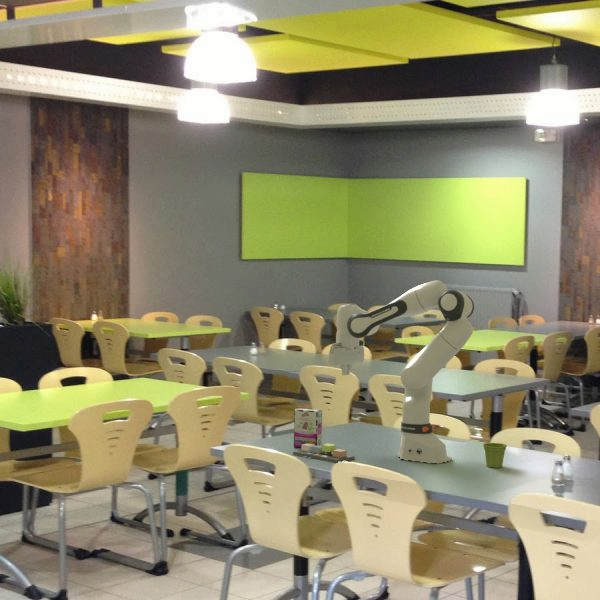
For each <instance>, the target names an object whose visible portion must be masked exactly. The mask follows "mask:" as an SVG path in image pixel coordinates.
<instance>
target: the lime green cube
mask: <svg viewBox="0 0 600 600" xmlns="http://www.w3.org/2000/svg"><path fill="white" fill-rule="evenodd" d="M333 450H337V444H333V443H324V444H323V443H322V451H325V452H326V453H327V454H331V453H332V452H333Z"/></svg>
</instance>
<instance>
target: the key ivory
mask: <svg viewBox="0 0 600 600" xmlns="http://www.w3.org/2000/svg"><path fill="white" fill-rule="evenodd" d="M312 446H315V445H314V444H308V443H307V444H302V445H301V448H300V450H301V451H305V452H309V453H310V452H312Z"/></svg>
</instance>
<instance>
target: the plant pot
mask: <svg viewBox="0 0 600 600" xmlns="http://www.w3.org/2000/svg"><path fill="white" fill-rule="evenodd" d="M482 446H483V449H484V454H485V455H484V456H485V462H486V464H485V465H486V467H487V466H488V468H495V469H499V467H500V468H503V464H504V459H505V458H504V457H505V452H506V450H507V449H506V448H507V447H508V444H505V443H500V442H485V443H482Z"/></svg>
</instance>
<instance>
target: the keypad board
mask: <svg viewBox="0 0 600 600" xmlns="http://www.w3.org/2000/svg"><path fill="white" fill-rule="evenodd" d="M293 454H294V456H298V455H301V456H300V457H303V456H307V457H306V458H308V457H311V458H310V459H314V458H316V459H315V460H319V459H321V460H320V461H324V460H325V461H324V462H330V461H331V463H336V462H338V461H343V460H349V461H352V460H355V459H356V458H355V457H356V455H350V454H347V457H342V458H341V459H340V458H337V457H333V452H332V453H331V454H327V453H326V452H325V453H321V454H316V453H312V452H310V453H309V452H305V451H301V449H299V450H295V451H292V455H293ZM336 464H337V463H336Z"/></svg>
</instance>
